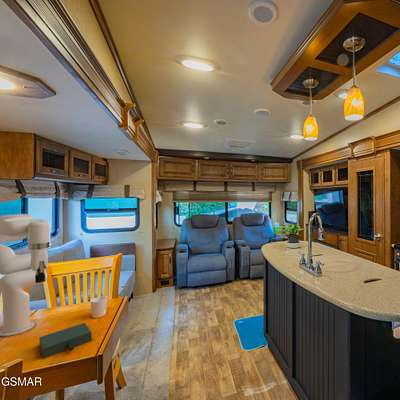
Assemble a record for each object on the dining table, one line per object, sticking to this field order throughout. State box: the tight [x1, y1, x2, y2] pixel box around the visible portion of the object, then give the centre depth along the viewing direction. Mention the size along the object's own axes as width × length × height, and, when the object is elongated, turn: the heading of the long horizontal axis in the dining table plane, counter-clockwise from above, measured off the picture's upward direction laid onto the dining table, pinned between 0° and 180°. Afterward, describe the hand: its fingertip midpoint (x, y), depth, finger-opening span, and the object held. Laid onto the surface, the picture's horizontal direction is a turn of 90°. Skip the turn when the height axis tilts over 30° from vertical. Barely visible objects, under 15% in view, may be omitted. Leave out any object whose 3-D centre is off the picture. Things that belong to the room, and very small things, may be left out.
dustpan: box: [38, 322, 92, 359], centre depth 121 cm, size 5×17×18 cm
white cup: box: [90, 295, 108, 319], centre depth 149 cm, size 8×8×10 cm
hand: (40, 281), depth 123 cm, fingers closed
